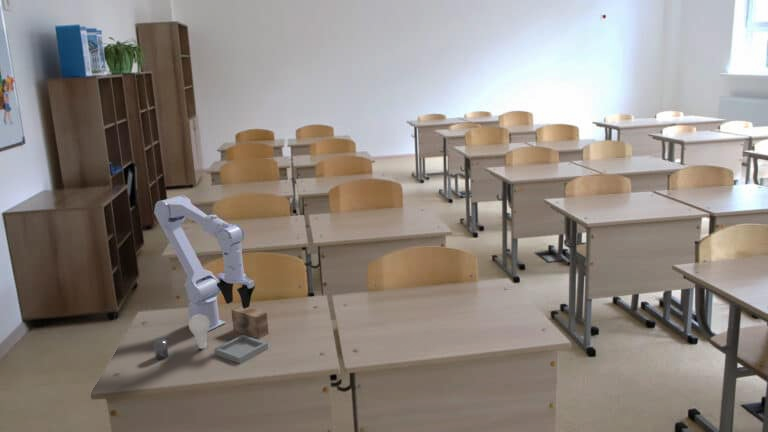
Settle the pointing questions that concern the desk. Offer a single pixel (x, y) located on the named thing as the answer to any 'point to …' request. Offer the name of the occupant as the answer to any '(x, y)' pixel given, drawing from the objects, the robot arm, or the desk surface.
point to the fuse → (161, 349)
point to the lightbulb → (200, 329)
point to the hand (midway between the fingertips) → (237, 305)
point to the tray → (241, 349)
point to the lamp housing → (250, 321)
